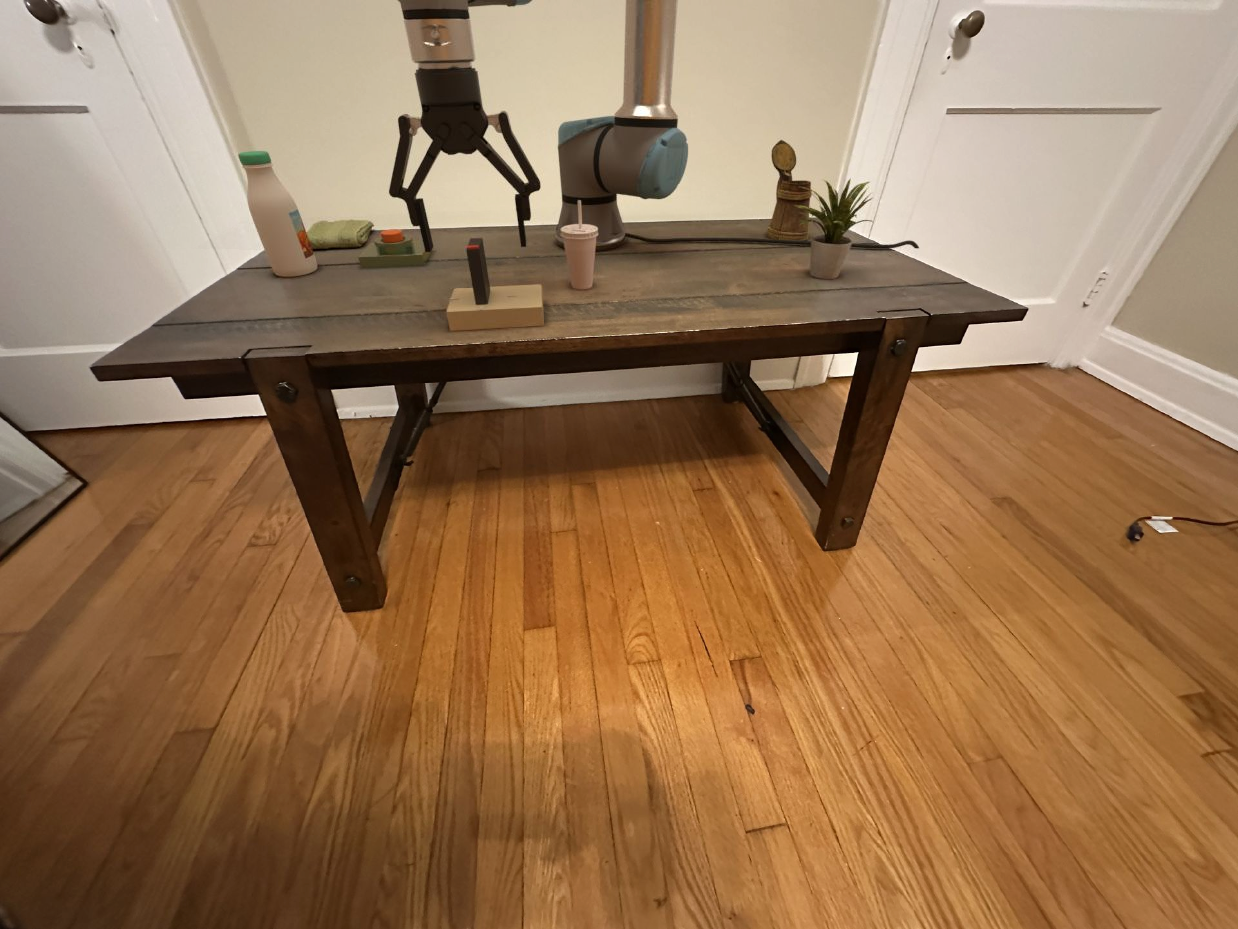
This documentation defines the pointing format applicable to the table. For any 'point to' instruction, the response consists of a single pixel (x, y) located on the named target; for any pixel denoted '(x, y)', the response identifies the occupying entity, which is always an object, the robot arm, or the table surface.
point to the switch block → (394, 254)
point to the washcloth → (339, 234)
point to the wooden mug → (788, 198)
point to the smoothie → (580, 251)
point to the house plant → (833, 230)
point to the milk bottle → (276, 218)
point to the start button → (392, 235)
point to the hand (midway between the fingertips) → (477, 247)
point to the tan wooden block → (497, 308)
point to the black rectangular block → (478, 270)
